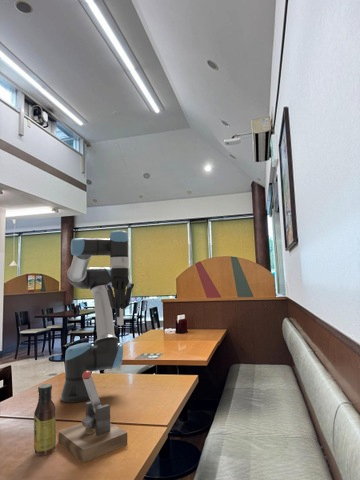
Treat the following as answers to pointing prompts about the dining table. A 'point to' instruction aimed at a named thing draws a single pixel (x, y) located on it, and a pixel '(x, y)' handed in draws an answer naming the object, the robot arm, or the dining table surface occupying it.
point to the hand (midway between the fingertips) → (120, 324)
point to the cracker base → (93, 436)
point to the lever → (94, 399)
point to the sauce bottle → (44, 422)
